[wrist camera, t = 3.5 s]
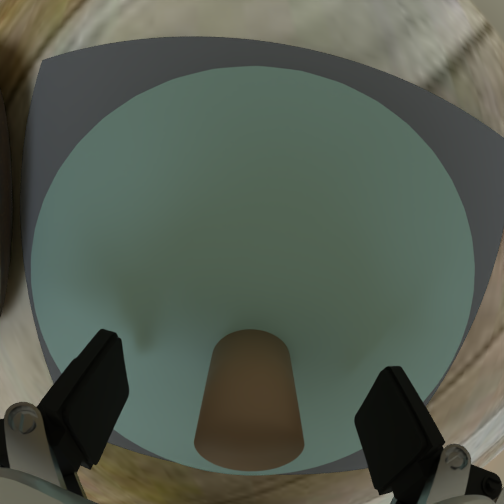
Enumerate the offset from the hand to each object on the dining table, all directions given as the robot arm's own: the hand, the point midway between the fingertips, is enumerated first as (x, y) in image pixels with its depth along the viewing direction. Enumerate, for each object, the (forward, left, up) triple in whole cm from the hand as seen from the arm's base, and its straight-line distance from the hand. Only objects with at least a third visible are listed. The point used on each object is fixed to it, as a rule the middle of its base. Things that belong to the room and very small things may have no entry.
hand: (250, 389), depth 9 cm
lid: (0, 0, -3) cm, 3 cm away
